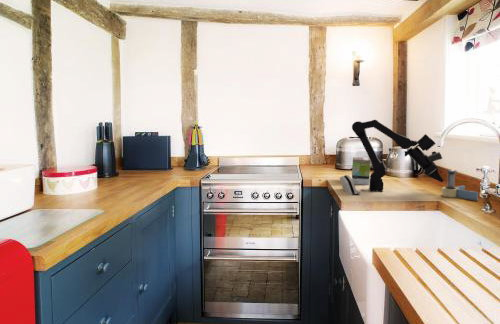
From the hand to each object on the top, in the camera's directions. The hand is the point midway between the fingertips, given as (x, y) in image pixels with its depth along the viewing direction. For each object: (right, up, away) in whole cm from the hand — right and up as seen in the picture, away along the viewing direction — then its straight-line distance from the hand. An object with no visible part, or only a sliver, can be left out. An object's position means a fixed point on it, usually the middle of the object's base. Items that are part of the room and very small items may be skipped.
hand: (441, 180), depth 187 cm
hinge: (-44, -7, +9) cm, 46 cm away
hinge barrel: (+7, -8, -1) cm, 11 cm away
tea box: (-30, -4, +37) cm, 48 cm away
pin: (+4, -8, -1) cm, 9 cm away
